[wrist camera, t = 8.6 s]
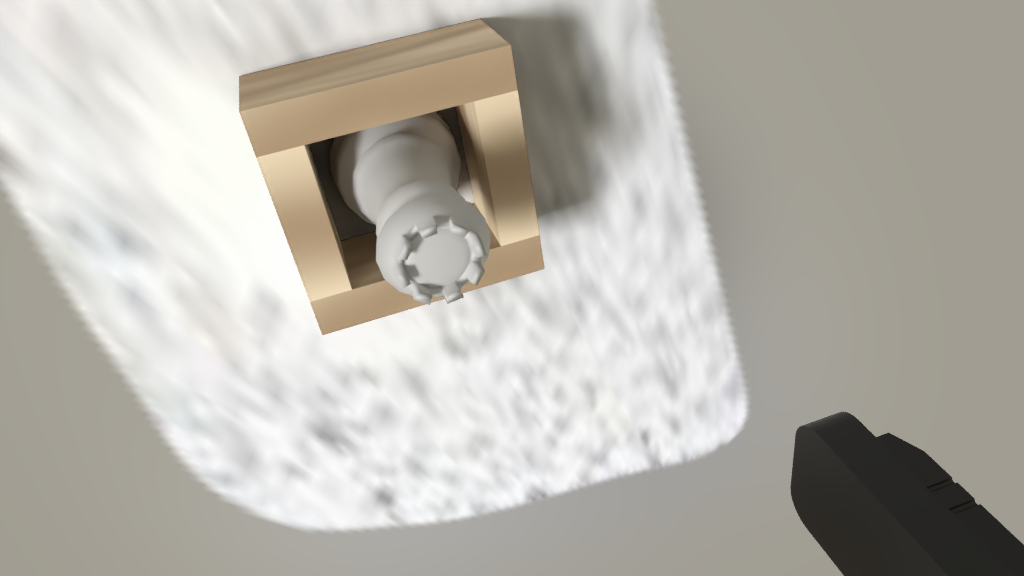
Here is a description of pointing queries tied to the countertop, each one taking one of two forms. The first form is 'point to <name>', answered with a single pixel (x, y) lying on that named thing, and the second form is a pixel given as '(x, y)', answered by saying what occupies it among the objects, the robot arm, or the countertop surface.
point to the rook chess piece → (413, 205)
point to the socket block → (378, 101)
